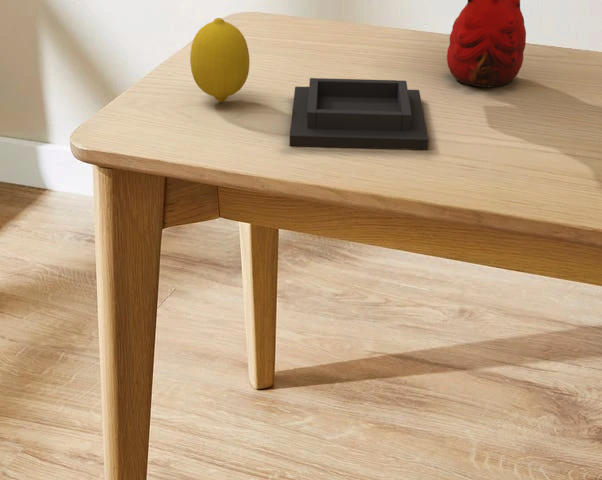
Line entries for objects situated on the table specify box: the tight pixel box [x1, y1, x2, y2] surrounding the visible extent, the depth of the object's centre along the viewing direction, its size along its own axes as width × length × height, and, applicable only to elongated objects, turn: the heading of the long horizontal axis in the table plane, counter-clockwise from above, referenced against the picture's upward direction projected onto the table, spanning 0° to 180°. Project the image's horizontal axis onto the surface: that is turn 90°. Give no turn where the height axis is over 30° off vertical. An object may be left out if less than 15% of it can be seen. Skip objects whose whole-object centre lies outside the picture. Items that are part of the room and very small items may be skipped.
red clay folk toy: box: [446, 0, 527, 88], centre depth 95 cm, size 8×7×15 cm
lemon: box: [189, 17, 251, 103], centre depth 91 cm, size 6×6×8 cm
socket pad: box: [289, 77, 429, 151], centre depth 89 cm, size 12×12×2 cm
